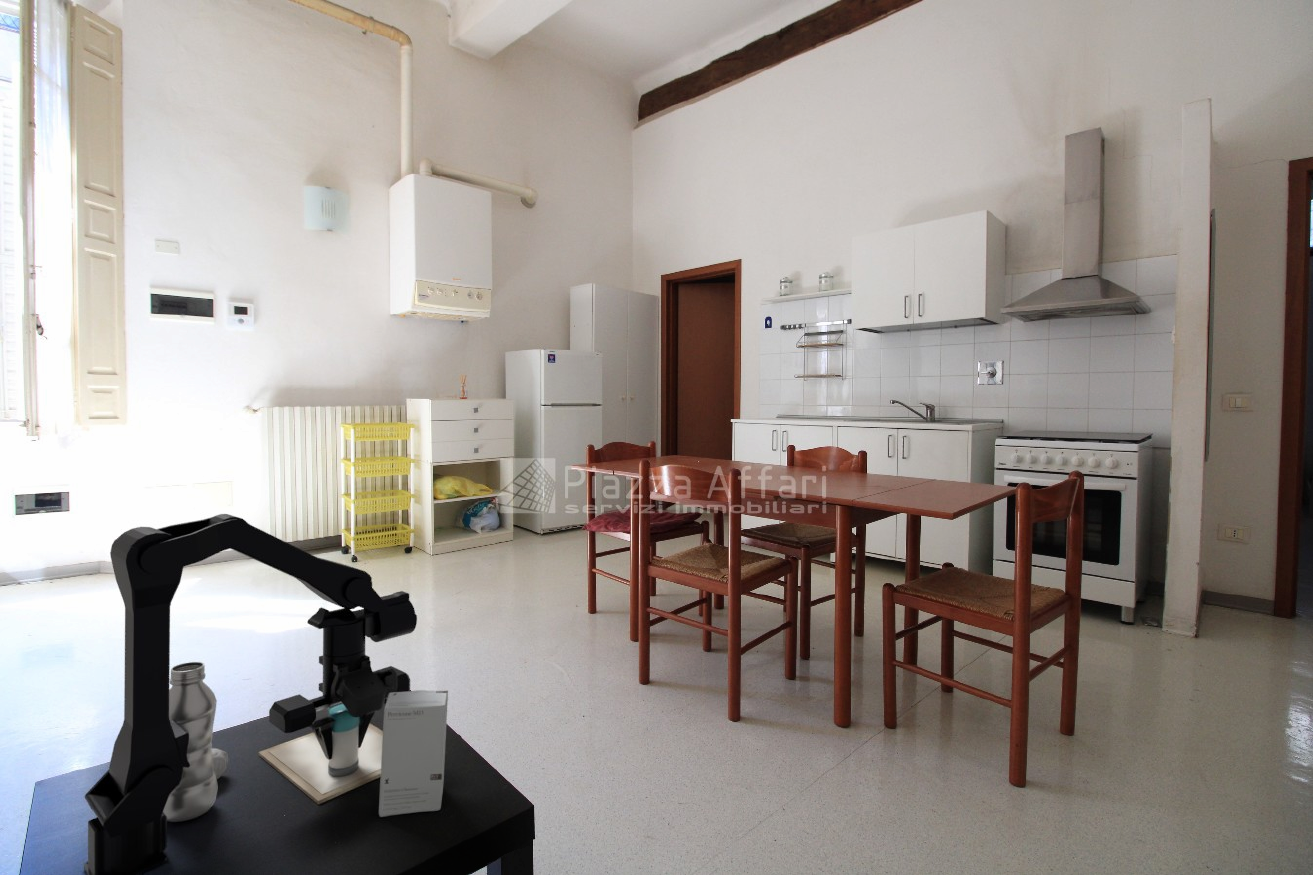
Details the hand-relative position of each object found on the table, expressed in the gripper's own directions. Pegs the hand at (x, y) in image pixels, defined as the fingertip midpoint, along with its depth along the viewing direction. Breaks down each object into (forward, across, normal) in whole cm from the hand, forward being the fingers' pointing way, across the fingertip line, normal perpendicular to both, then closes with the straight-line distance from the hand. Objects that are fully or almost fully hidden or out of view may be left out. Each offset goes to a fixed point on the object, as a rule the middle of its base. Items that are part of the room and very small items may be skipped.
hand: (343, 752), depth 97 cm
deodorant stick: (+2, 0, 0) cm, 2 cm away
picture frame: (+3, +2, +5) cm, 6 cm away
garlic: (+4, -14, +13) cm, 19 cm away
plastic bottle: (+3, -18, +6) cm, 19 cm away
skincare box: (+3, +3, -14) cm, 15 cm away
